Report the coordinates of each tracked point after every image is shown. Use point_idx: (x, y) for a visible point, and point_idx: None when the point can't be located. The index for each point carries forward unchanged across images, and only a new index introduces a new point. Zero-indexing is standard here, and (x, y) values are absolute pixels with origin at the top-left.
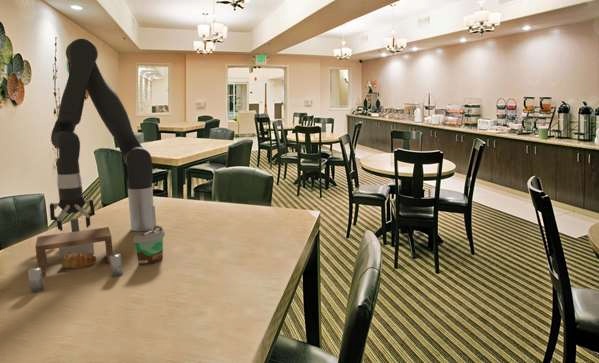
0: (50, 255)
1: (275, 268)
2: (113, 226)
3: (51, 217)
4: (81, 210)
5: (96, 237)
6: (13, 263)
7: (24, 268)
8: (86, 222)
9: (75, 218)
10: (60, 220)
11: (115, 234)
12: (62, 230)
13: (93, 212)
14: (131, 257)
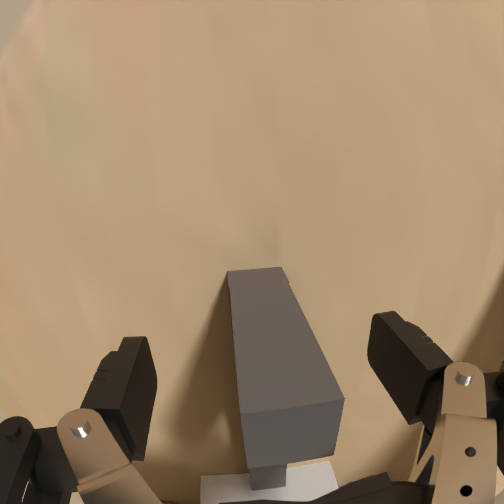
0: (150, 448)
1: (499, 489)
2: (473, 50)
3: (44, 497)
4: None
5: None
6: None
7: None
8: (392, 392)
9: (308, 438)
10: (129, 459)
11: (473, 244)
12: (156, 376)
13: (500, 436)
14: None
